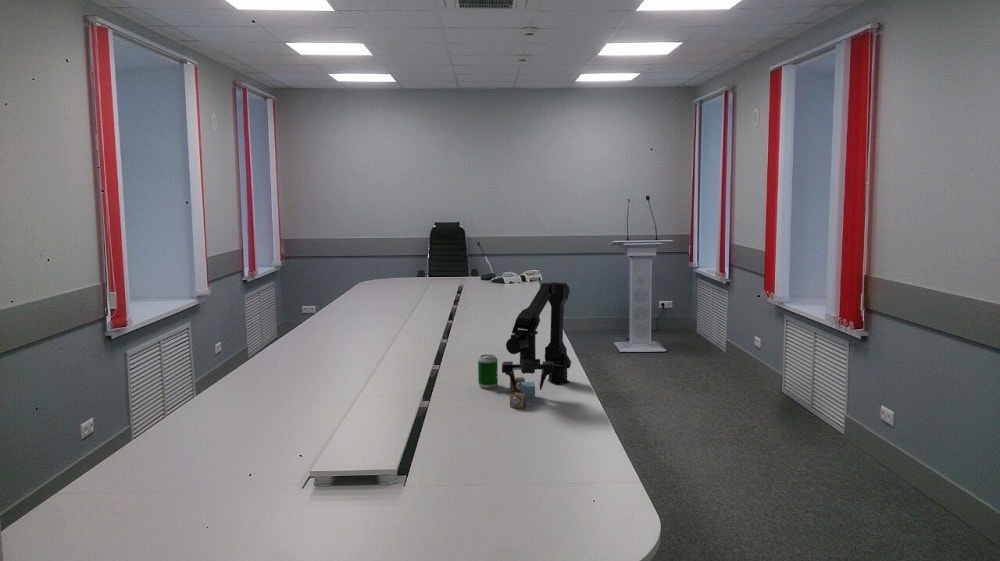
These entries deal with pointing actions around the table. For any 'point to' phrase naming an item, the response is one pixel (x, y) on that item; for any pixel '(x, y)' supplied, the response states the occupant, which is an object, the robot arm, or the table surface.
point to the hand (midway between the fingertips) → (527, 389)
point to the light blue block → (528, 390)
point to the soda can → (487, 371)
